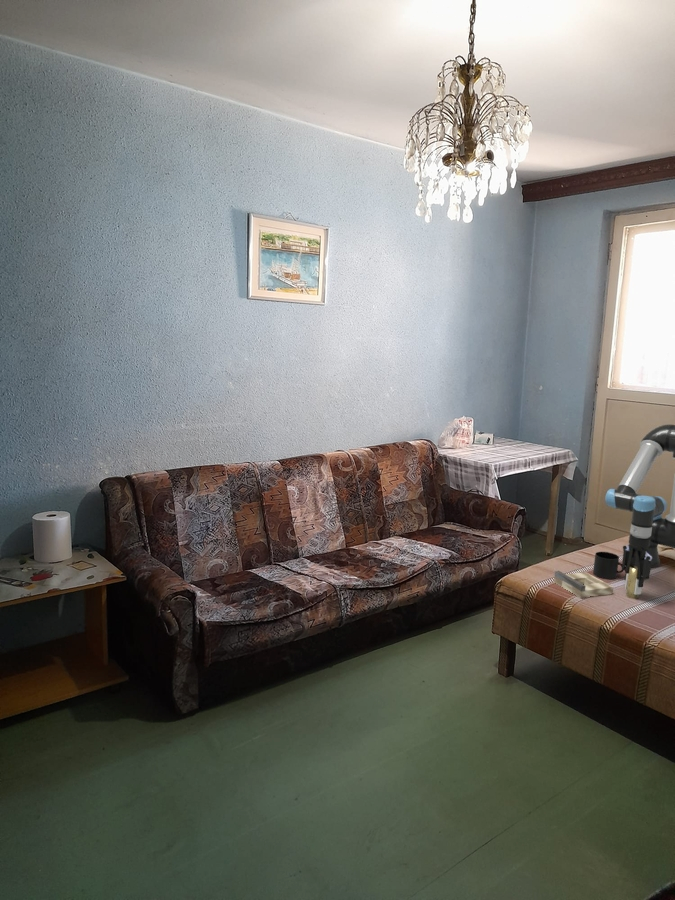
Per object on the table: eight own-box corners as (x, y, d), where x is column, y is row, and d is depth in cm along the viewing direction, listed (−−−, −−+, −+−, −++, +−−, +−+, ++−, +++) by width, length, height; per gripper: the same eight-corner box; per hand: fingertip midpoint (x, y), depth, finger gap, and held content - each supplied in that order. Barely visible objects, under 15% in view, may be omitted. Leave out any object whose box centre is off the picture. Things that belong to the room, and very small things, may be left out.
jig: (585, 578, 270) (586, 567, 269) (612, 593, 255) (614, 582, 254) (553, 582, 264) (555, 571, 264) (580, 598, 250) (581, 586, 249)
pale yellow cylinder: (632, 593, 256) (635, 565, 254) (640, 598, 252) (644, 569, 250) (623, 594, 255) (627, 566, 252) (631, 599, 251) (635, 570, 248)
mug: (620, 583, 267) (622, 562, 265) (590, 575, 273) (592, 555, 272) (625, 576, 274) (627, 556, 272) (596, 569, 281) (598, 549, 279)
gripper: (616, 529, 255) (609, 583, 260) (650, 543, 239) (642, 601, 244) (630, 527, 258) (623, 582, 262) (665, 542, 242) (657, 599, 246)
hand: (632, 591), depth 253 cm, fingers closed on pale yellow cylinder, 4 cm apart
